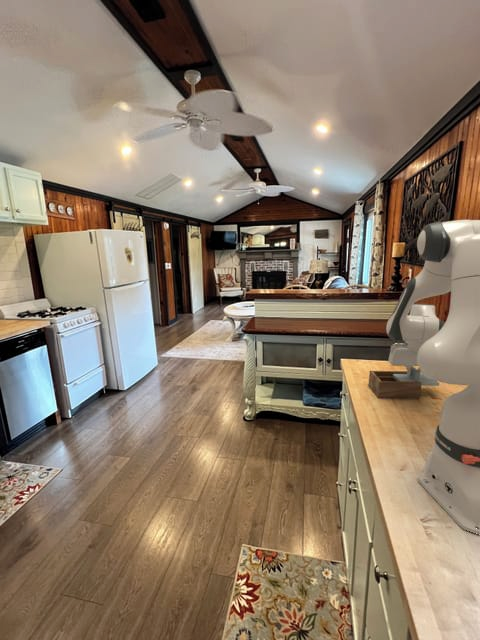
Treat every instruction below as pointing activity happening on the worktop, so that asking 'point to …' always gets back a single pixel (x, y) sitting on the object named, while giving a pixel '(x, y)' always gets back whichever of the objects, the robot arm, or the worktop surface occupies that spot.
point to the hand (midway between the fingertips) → (413, 375)
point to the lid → (415, 378)
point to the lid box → (393, 386)
